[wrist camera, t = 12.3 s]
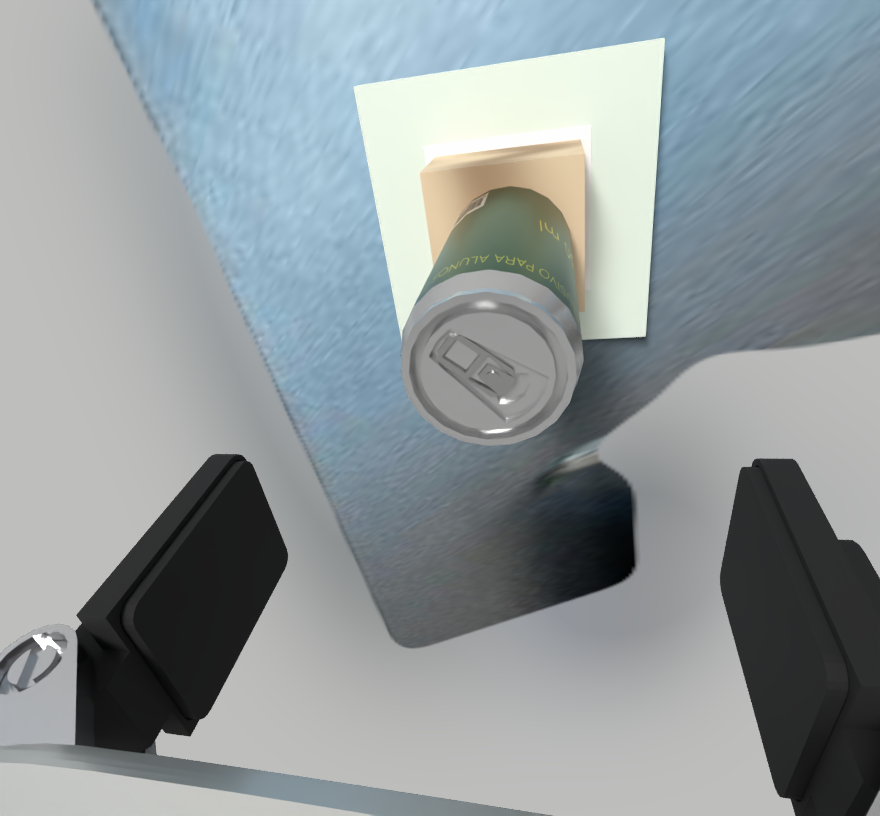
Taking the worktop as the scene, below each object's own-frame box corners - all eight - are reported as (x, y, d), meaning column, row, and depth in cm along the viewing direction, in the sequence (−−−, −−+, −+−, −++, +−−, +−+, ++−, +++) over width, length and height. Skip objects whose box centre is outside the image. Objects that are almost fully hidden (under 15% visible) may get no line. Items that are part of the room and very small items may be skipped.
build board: (661, 38, 25) (665, 38, 24) (642, 328, 32) (645, 337, 31) (359, 85, 27) (353, 86, 27) (406, 341, 35) (403, 349, 34)
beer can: (430, 257, 26) (359, 388, 17) (497, 155, 24) (461, 240, 14) (521, 320, 27) (506, 479, 18) (597, 230, 25) (629, 360, 15)
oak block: (580, 138, 26) (584, 153, 23) (580, 281, 30) (584, 311, 27) (434, 157, 28) (419, 172, 24) (452, 290, 31) (441, 320, 28)
